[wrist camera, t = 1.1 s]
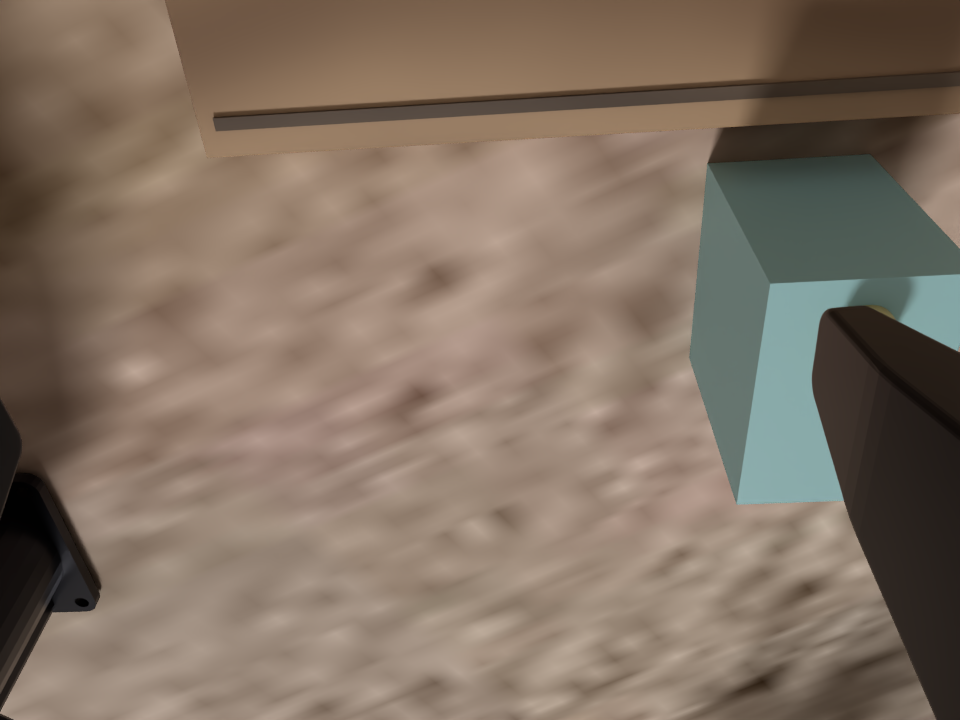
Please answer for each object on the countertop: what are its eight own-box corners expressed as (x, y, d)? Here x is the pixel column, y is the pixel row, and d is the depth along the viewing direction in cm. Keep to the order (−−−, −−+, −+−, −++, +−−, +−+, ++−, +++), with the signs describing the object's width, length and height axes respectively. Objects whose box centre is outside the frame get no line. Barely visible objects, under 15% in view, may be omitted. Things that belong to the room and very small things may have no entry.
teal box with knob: (828, 350, 24) (925, 523, 19) (688, 356, 25) (744, 529, 19) (869, 153, 21) (1003, 295, 15) (707, 163, 21) (781, 305, 16)
